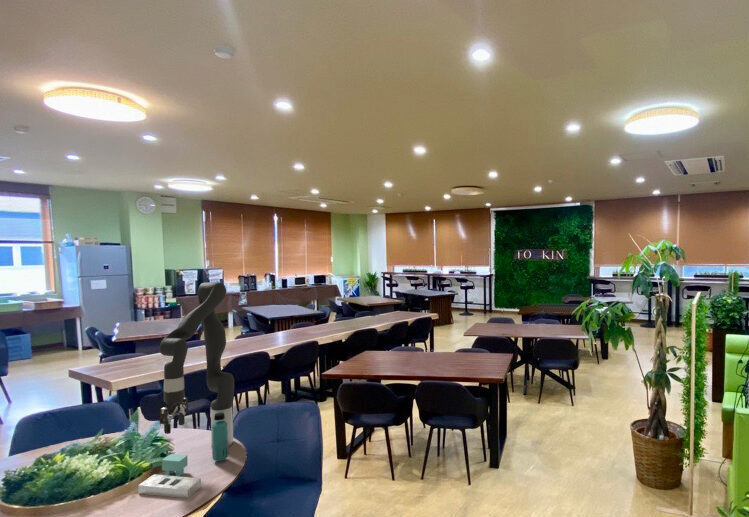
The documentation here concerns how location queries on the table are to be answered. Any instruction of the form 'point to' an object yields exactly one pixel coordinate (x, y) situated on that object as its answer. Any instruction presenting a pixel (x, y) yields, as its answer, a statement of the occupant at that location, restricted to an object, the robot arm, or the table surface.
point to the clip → (174, 464)
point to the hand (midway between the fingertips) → (174, 429)
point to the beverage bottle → (219, 438)
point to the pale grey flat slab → (169, 486)
